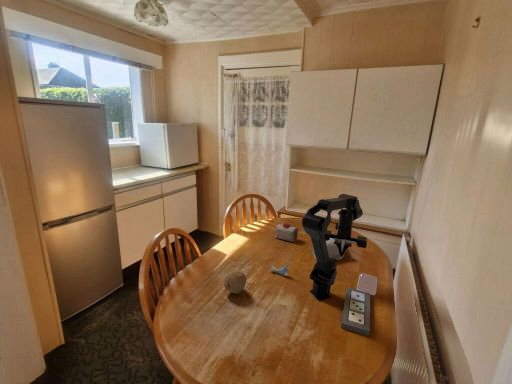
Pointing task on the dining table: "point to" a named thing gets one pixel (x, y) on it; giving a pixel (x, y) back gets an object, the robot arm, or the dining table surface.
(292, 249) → the dining table surface
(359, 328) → the grey flat block
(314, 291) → the robot arm
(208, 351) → the dining table surface
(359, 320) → the two dot key
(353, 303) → the three dot key
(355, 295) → the one dot key
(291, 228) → the white box
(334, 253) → the elbow connector
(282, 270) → the dinosaur figurine
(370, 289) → the mobile phone
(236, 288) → the natural sponge
